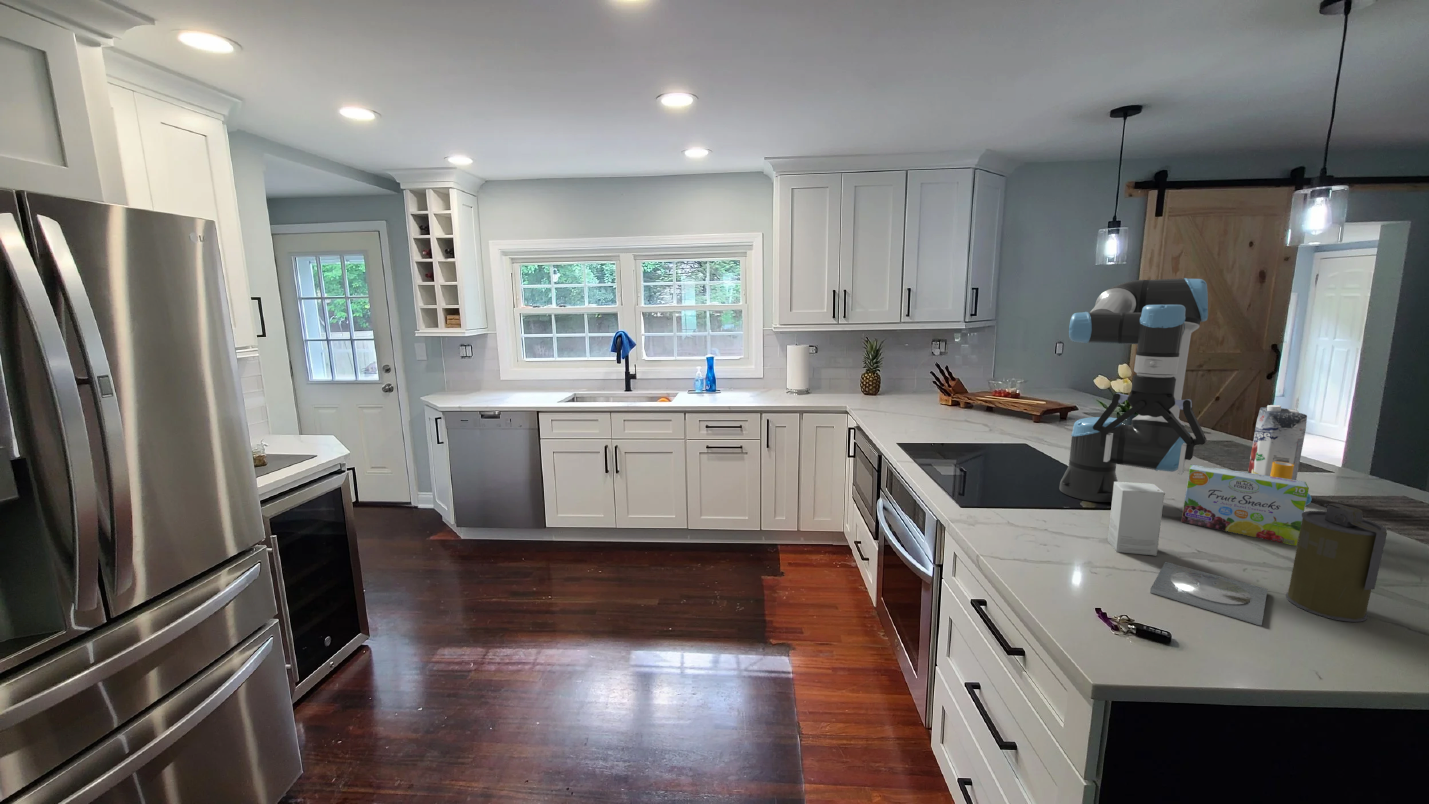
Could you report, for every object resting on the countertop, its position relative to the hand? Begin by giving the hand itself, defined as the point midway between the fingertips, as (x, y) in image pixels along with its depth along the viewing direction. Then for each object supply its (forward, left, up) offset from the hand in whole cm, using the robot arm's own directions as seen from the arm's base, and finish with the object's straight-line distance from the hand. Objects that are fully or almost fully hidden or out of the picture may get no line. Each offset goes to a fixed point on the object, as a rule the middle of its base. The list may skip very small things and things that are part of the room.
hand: (1142, 466), depth 126 cm
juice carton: (+20, +71, -20) cm, 77 cm away
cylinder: (+22, +49, -20) cm, 58 cm away
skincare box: (0, 0, -20) cm, 20 cm away
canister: (+31, -4, -20) cm, 37 cm away
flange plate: (+15, -13, -20) cm, 28 cm away
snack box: (+16, +31, -21) cm, 41 cm away
